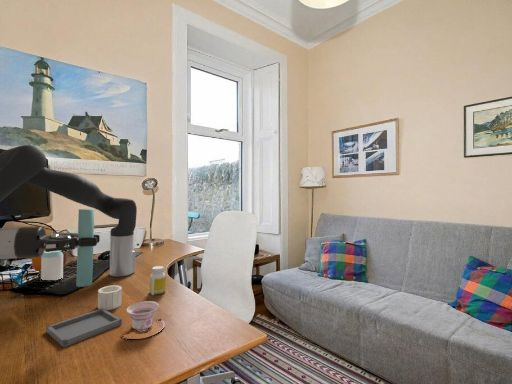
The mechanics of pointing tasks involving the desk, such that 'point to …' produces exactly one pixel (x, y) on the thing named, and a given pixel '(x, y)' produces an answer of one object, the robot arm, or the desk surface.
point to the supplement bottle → (157, 281)
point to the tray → (82, 326)
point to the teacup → (143, 315)
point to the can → (52, 265)
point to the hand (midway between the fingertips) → (97, 240)
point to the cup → (109, 297)
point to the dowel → (85, 248)
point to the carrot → (37, 262)
